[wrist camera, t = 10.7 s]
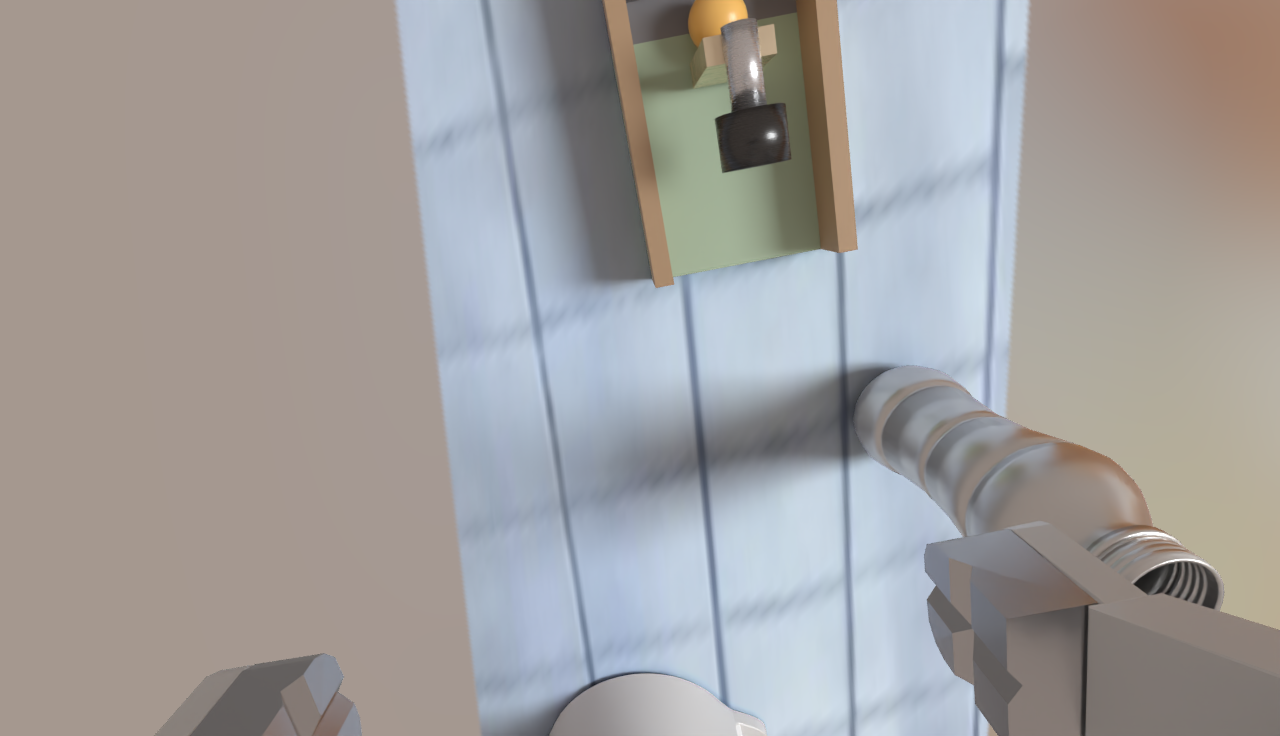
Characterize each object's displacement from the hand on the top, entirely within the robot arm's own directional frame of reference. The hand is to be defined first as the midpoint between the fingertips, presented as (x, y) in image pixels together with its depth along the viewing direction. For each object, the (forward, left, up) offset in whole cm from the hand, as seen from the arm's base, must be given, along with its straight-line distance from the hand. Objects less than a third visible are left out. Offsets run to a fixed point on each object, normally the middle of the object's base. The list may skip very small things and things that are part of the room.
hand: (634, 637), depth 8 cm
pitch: (+9, -7, -29) cm, 31 cm away
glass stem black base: (+9, -7, -28) cm, 30 cm away
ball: (+13, -7, -27) cm, 31 cm away
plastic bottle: (-10, -16, -29) cm, 35 cm away
